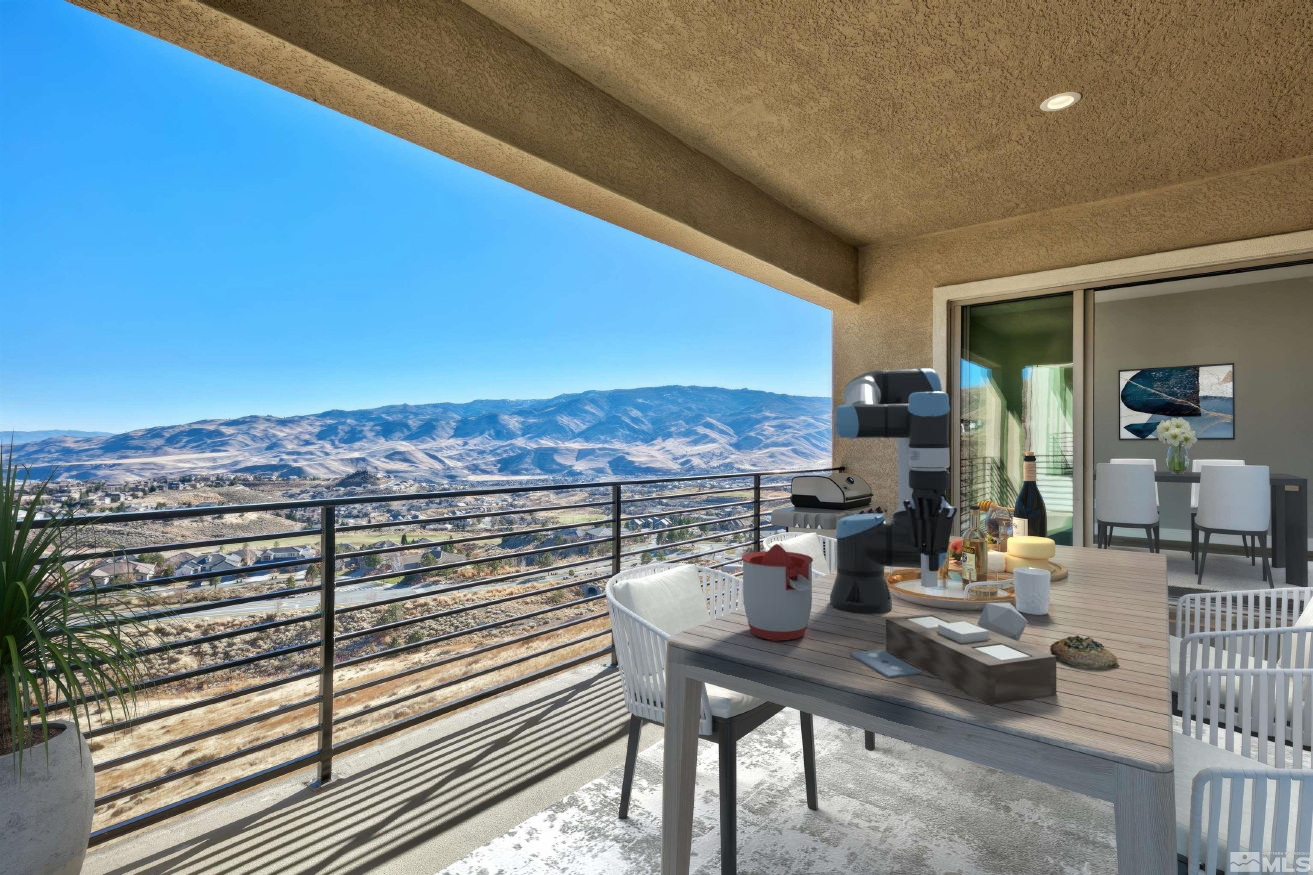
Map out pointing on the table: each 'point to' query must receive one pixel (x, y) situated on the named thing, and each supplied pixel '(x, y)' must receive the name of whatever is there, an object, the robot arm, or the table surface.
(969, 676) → the button box
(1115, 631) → the table surface
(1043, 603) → the white cup
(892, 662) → the pattern card
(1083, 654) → the bread roll
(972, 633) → the middle button
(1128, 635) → the table surface
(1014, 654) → the outer button
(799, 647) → the table surface
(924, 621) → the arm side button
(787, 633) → the citrus juicer
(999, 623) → the die
